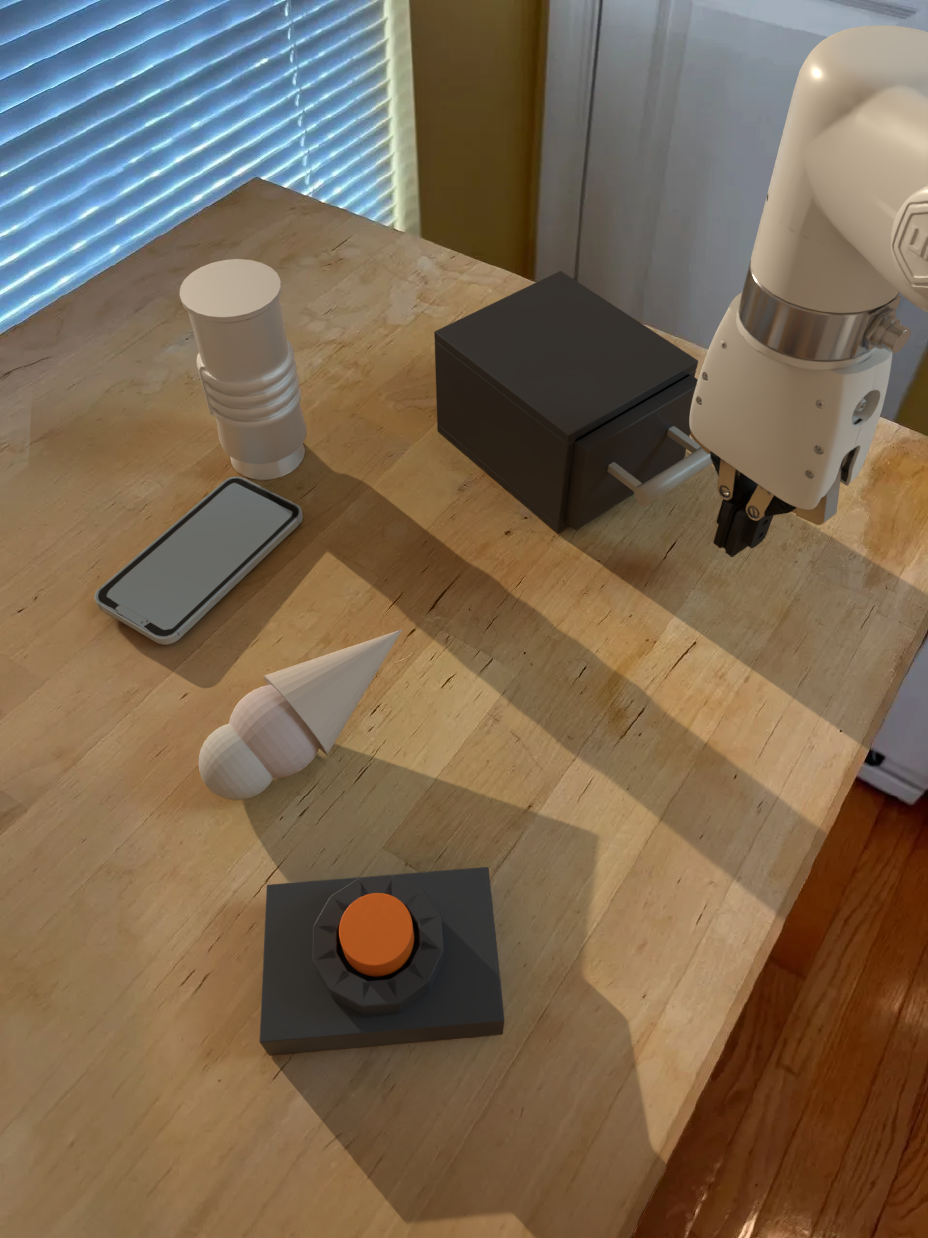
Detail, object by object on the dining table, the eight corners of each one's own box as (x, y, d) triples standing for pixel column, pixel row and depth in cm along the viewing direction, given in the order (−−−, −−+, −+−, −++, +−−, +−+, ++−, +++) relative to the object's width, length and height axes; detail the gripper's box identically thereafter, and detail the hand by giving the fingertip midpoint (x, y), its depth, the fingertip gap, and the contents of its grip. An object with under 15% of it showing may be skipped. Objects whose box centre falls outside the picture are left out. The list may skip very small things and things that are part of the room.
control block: (487, 885, 53) (489, 852, 50) (502, 1034, 48) (505, 1010, 45) (274, 903, 53) (260, 871, 49) (268, 1056, 48) (252, 1033, 44)
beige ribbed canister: (219, 433, 77) (174, 266, 65) (304, 419, 78) (274, 252, 66) (227, 491, 72) (180, 324, 61) (317, 475, 73) (288, 308, 62)
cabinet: (675, 460, 74) (699, 360, 67) (557, 534, 70) (568, 435, 62) (551, 370, 81) (560, 270, 74) (437, 431, 77) (433, 331, 69)
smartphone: (308, 509, 70) (166, 644, 62) (309, 518, 71) (169, 652, 63) (232, 472, 73) (87, 597, 65) (234, 481, 73) (91, 606, 65)
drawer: (724, 493, 71) (748, 412, 65) (616, 565, 67) (631, 486, 60) (565, 377, 79) (573, 296, 73) (460, 434, 75) (459, 353, 69)
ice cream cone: (418, 665, 62) (235, 816, 58) (362, 592, 61) (172, 740, 57) (446, 668, 56) (244, 836, 53) (385, 587, 55) (174, 752, 51)
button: (412, 902, 48) (410, 889, 47) (415, 973, 46) (414, 962, 45) (342, 908, 48) (338, 895, 47) (342, 980, 46) (338, 968, 45)
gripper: (982, 342, 47) (862, 579, 62) (751, 221, 54) (692, 459, 69) (891, 403, 44) (788, 637, 59) (661, 267, 51) (619, 505, 66)
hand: (737, 540), depth 64 cm, fingers closed
